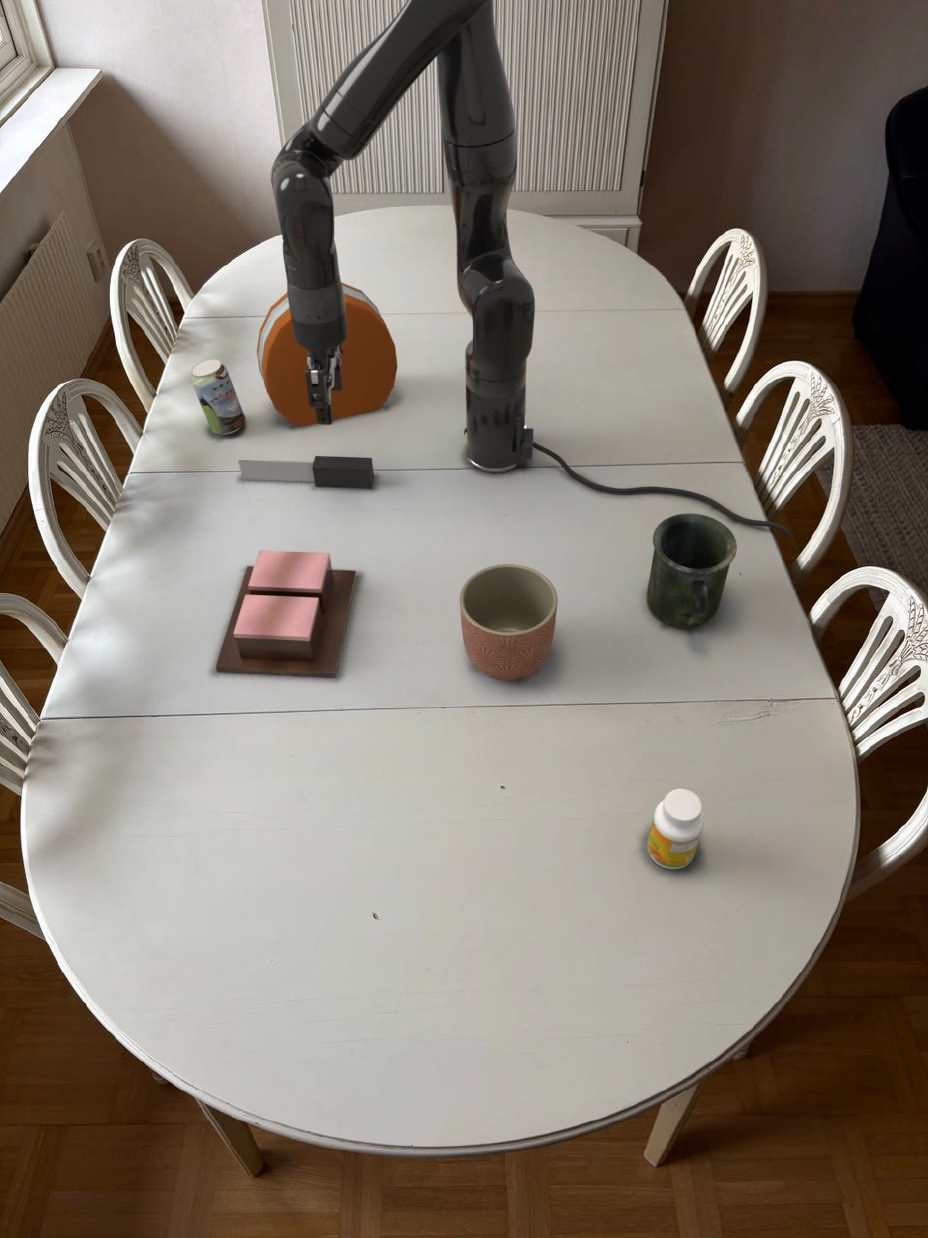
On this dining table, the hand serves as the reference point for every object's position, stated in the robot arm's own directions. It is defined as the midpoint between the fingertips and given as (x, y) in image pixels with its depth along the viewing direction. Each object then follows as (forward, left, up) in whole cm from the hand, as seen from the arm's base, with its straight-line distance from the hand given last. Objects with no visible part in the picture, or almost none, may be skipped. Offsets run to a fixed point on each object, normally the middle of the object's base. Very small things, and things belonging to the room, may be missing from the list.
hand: (330, 405), depth 148 cm
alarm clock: (+5, -21, -15) cm, 26 cm away
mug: (-52, +25, -15) cm, 60 cm away
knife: (+5, 0, -15) cm, 16 cm away
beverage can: (+22, -13, -15) cm, 30 cm away
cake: (+2, +30, -15) cm, 33 cm away
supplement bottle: (-48, +62, -15) cm, 80 cm away
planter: (-28, +34, -15) cm, 46 cm away
